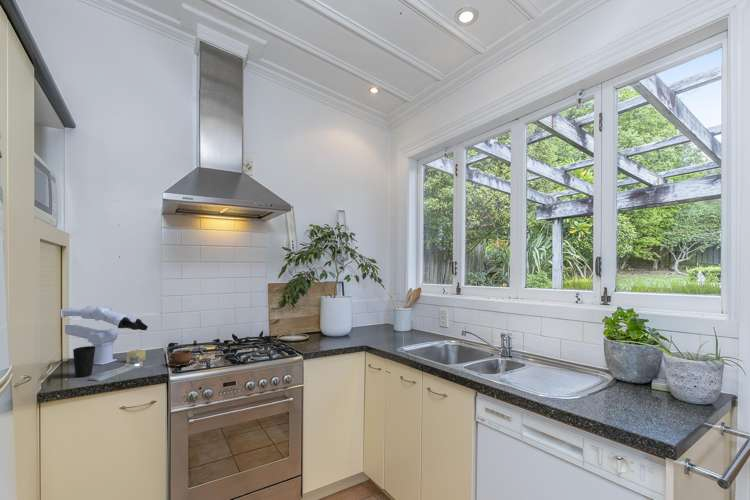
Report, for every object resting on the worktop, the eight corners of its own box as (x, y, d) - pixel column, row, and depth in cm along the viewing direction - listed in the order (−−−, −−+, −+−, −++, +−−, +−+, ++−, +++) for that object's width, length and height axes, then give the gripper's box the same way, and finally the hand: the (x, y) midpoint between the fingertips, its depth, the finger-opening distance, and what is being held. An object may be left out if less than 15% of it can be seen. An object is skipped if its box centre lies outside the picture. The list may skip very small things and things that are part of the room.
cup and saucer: (173, 370, 161) (174, 356, 162) (164, 364, 169) (165, 352, 169) (200, 364, 170) (200, 351, 171) (190, 359, 178) (190, 347, 178)
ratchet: (88, 380, 146) (88, 368, 147) (134, 364, 169) (134, 354, 169) (101, 381, 145) (102, 369, 145) (146, 365, 167) (146, 355, 167)
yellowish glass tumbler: (126, 362, 171) (126, 352, 172) (136, 359, 177) (136, 349, 177) (135, 363, 170) (136, 353, 170) (145, 360, 176) (145, 350, 176)
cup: (89, 377, 149) (90, 350, 150) (68, 379, 147) (69, 351, 147) (97, 372, 157) (98, 345, 157) (77, 373, 154) (78, 346, 155)
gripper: (111, 309, 165) (135, 318, 164) (132, 313, 179) (154, 321, 178) (103, 323, 163) (127, 332, 162) (125, 326, 177) (148, 334, 176)
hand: (141, 327), depth 170 cm, fingers open, 7 cm apart
